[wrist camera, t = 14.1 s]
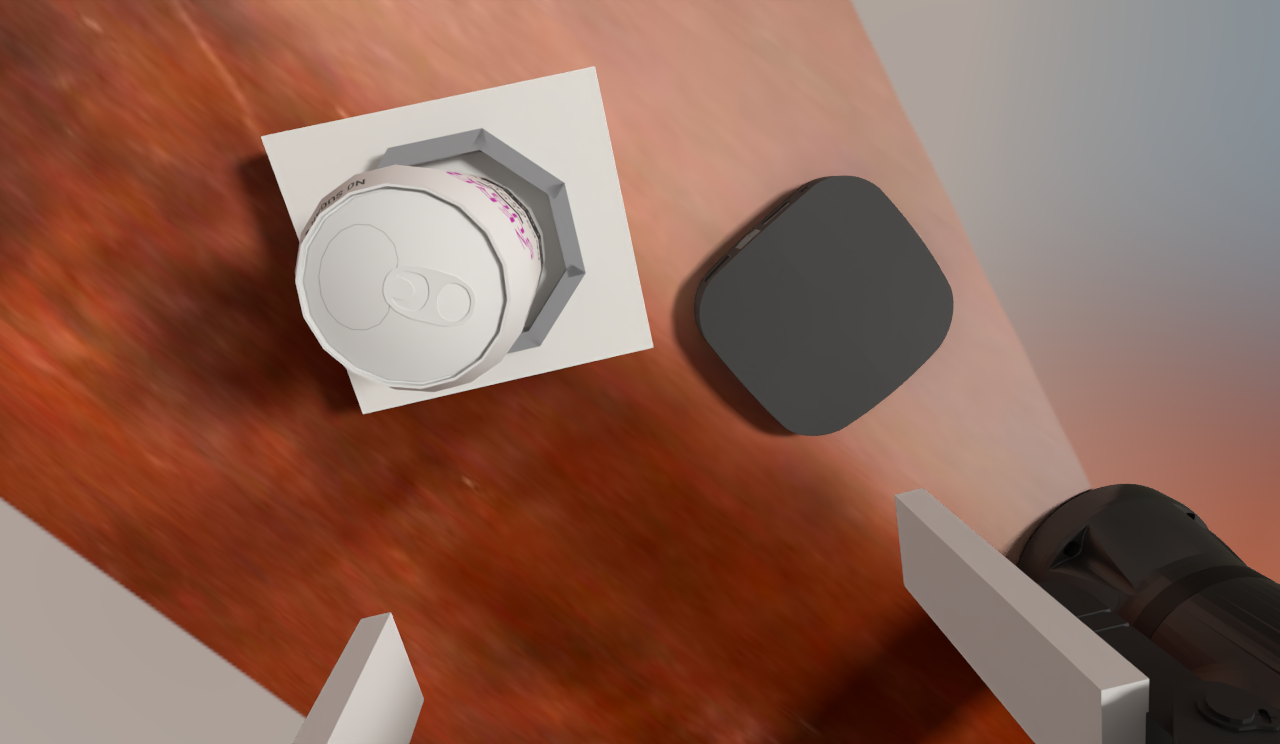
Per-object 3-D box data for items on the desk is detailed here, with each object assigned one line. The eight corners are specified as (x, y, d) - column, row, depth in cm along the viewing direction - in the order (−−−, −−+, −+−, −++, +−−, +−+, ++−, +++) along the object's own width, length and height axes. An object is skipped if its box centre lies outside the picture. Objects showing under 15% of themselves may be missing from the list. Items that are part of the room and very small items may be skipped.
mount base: (592, 79, 37) (595, 60, 32) (646, 333, 42) (656, 353, 37) (293, 142, 36) (246, 133, 31) (382, 393, 41) (354, 423, 36)
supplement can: (387, 300, 36) (261, 374, 21) (414, 155, 34) (296, 128, 19) (526, 336, 37) (496, 428, 23) (560, 198, 35) (552, 204, 21)
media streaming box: (798, 445, 46) (813, 462, 43) (669, 302, 42) (676, 310, 39) (955, 311, 44) (982, 320, 41) (837, 149, 40) (857, 146, 37)
